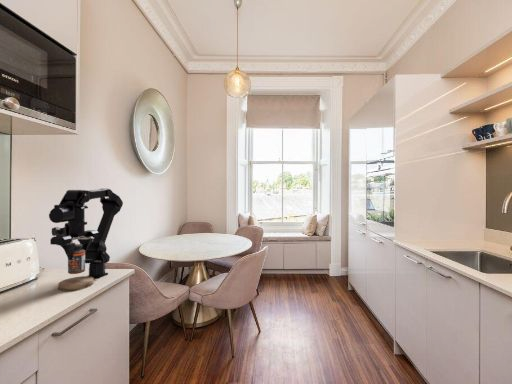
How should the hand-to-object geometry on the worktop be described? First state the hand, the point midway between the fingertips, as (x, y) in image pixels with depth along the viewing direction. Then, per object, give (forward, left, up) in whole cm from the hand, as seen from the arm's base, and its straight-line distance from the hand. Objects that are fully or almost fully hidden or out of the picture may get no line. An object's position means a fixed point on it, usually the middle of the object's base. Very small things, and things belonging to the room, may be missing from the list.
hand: (76, 257), depth 109 cm
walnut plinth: (0, 0, -12) cm, 12 cm away
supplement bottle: (0, 0, -6) cm, 6 cm away
